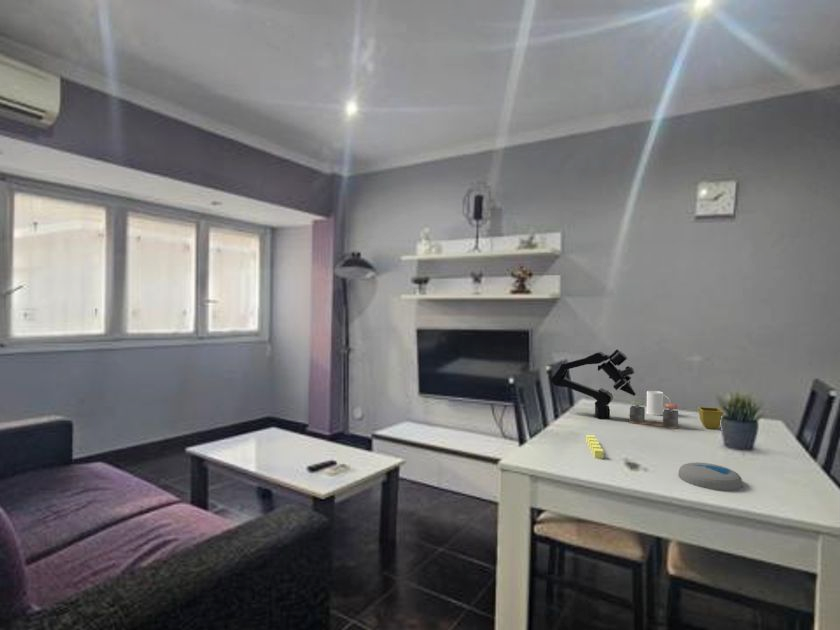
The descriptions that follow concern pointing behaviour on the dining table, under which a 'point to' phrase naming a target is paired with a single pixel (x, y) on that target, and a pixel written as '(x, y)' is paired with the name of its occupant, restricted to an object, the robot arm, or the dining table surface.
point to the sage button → (637, 402)
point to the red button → (670, 406)
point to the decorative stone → (710, 476)
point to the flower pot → (710, 417)
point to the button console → (668, 421)
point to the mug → (655, 403)
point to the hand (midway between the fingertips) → (635, 395)
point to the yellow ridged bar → (594, 446)
